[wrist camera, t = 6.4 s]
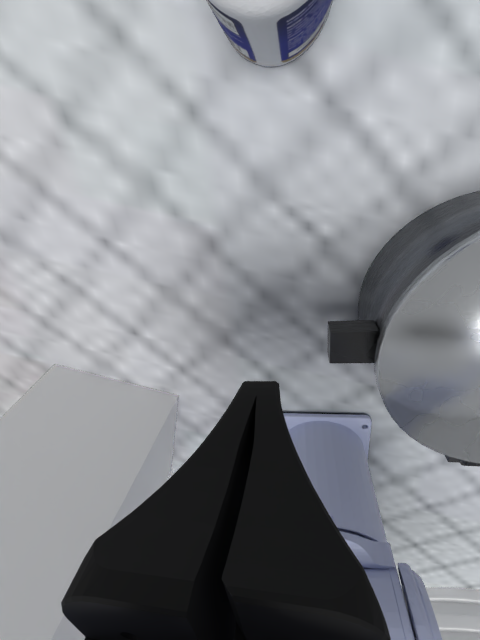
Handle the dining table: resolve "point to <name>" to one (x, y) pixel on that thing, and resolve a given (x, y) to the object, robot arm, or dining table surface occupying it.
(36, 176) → the dining table surface
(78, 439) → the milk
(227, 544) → the robot arm
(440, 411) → the pot lid
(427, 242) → the cooking pot
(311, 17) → the pill bottle
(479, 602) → the plate stack
